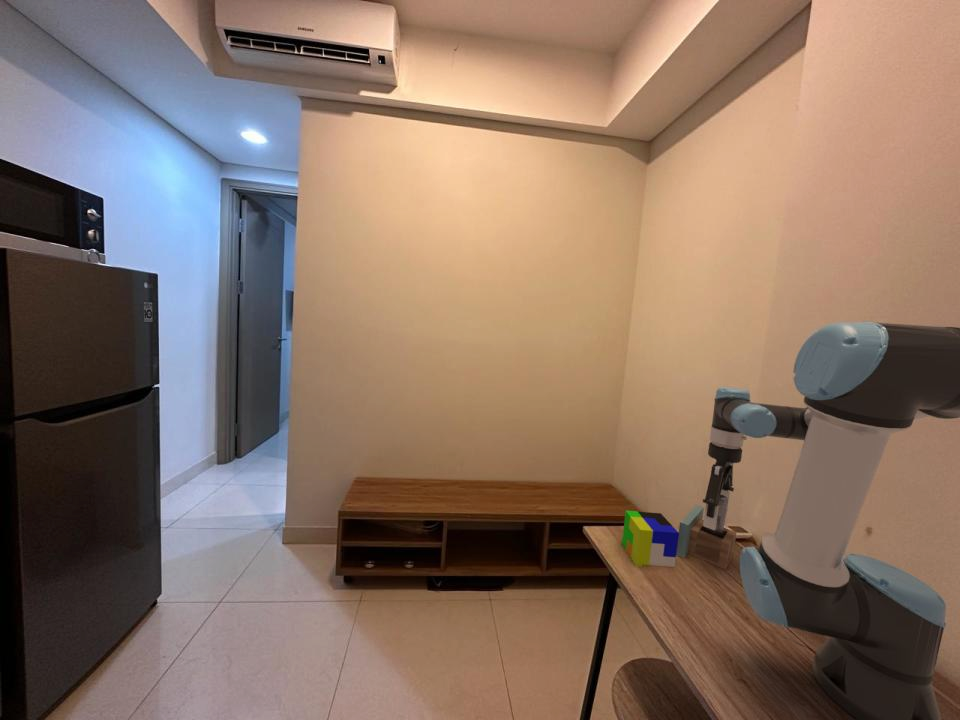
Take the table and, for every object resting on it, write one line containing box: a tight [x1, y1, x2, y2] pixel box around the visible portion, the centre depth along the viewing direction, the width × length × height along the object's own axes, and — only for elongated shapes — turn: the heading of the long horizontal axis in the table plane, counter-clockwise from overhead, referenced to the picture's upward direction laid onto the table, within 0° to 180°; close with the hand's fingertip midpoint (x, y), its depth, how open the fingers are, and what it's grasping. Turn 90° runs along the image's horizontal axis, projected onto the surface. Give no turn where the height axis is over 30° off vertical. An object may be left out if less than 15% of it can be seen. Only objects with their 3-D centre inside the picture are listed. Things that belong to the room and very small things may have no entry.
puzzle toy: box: [621, 510, 679, 568], centre depth 100 cm, size 10×10×10 cm
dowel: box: [706, 494, 729, 538], centre depth 101 cm, size 4×4×16 cm
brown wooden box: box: [687, 519, 737, 571], centre depth 102 cm, size 9×9×7 cm
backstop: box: [676, 504, 705, 559], centre depth 100 cm, size 16×19×10 cm
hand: (715, 519), depth 101 cm, fingers open, 13 cm apart
